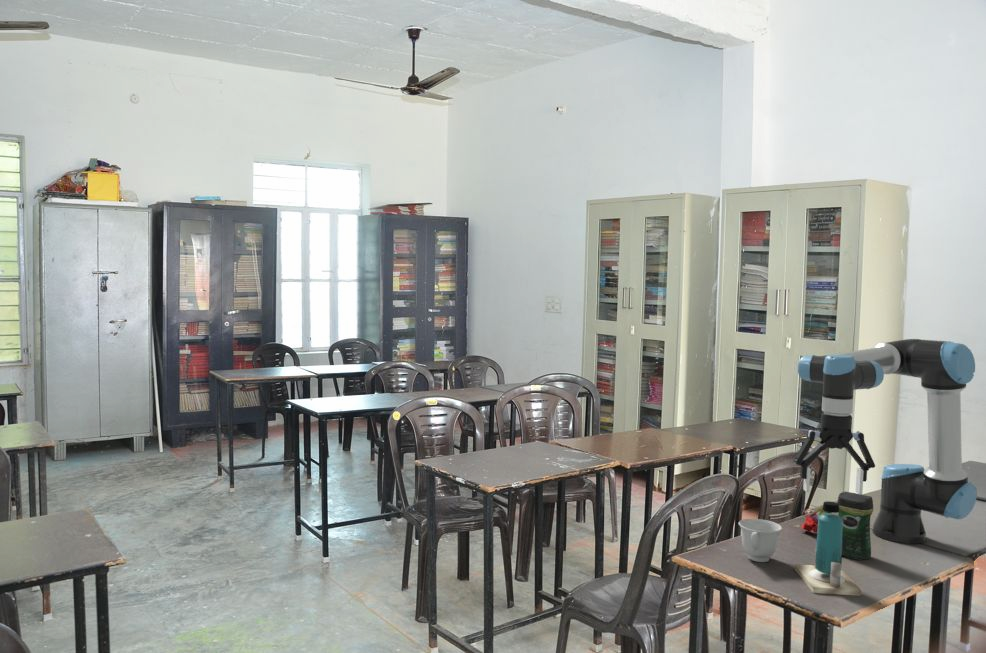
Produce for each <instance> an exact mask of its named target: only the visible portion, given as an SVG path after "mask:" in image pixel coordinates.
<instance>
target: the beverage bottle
mask: <svg viewBox="0 0 986 653" xmlns="http://www.w3.org/2000/svg"><path fill="white" fill-rule="evenodd" d="M822 506H823V510H824V511H827V512H832V513H823V514H821V515H820V516H819V517H818V531H817V532H816V542H815V543H816V546H817V548H816V547H815V550H816V559H815V558H814V564H815V563H816V569H817V570H818V571H819V572H822V573H825V574H831V562H839V563H841V567H842V562H843V561H842V560H843V556H842V547H843V546H842V540H843V539H842V532H843V520H842V519H841V517H840V516H839V513H838V512H839V504H838V503H837V502H835V501H823V504H822ZM836 513H838V514H836Z"/></svg>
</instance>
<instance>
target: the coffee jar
mask: <svg viewBox="0 0 986 653" xmlns="http://www.w3.org/2000/svg"><path fill="white" fill-rule="evenodd" d="M836 503H838V504H839V512H838V516H840V517H841V519H842V520H843V532H842V539H843V540H842V546H843V547H842V555H841V557H845V558H850V559H855V560H867V559H869V558H870V557H871V555H872V543H871V542H872V541H871V516H872V514H873V513H874V509H875V508H874V500H873V497H872V496H870V495H865V494H862V495H860V494H858V493H857V492H850V491H842V492H840V493H839V495H838V498H837V502H836Z"/></svg>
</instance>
